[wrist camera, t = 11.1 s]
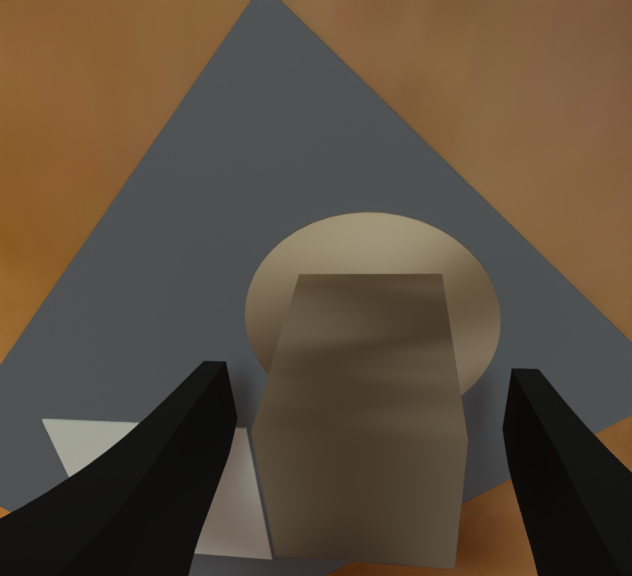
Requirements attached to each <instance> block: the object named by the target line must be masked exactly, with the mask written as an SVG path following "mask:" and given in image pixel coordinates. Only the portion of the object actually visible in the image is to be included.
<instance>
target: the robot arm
mask: <svg viewBox="0 0 632 576" xmlns="http://www.w3.org/2000/svg"><path fill="white" fill-rule="evenodd" d="M237 419H238V417H237V412H236V407H235V402H234V398H233V393H232V388H231V383H230V378H229V373H228V369H227V364H226V361H203V362H202V363H201V364H200V365H199V366H198V367H197V368H196V369H195V370H194V371H193V372H192V373H191V374H190V375H189V376H188V377H187V378H186V379H185V380H184V381H183V382H182V383H181V384H180V385H179V386H178V387H177V388H176V389H175V390H174V391H173V392H172V393H171V394H170V395H169V396H168V397H167V398H166V399H165V400H164V401H163V402H162V403H161V404H160V405H158V406H157V407H156V408H155V409H154V410H153V411H152V412H151V413H150V414H149V415H148V416H147V417H146V418H145V419H144V420H142V421H141V422H140V423H139V424H138V425H137V426H136V427H134V428H133V429H132V430H131V431H130V432H129V433H128V434H126V435H125V436H124V437H123V438H122V439H121V440H119V441H118V442H117V443H116V444H115V445H113V446H112V447H111V448H109V449H108V450H107V451H106V452H104V453H103V454H102V455H100V456H99V457H98V458H96V459H95V460H94V461H92V462H91V463H90V464H88V465H87V466H85V467H84V468H83V469H81V470H80V471H78V472H77V473H75V474H74V475H72V476H70V477H69V478H67V479H66V480H64V481H63V482H61V483H60V484H58V485H57V486H55V487H54V488H52V489H51V490H49V491H48V492H46V493H44V494H43V495H41V496H39V497H38V498H36V499H34V500H32V501H31V502H29V503H27V504H26V505H24V506H22V507H20V508H18V509H17V510H15V511H13V512H11V513H9V514H8V515H6V516H4V517H2V518H0V576H189V572H190V568H191V564H192V561H193V557H194V553H195V549H196V546H197V543H198V540H199V537H200V534H201V531H202V528H203V525H204V522H205V520H206V517H207V514H208V512H209V509H210V506H211V504H212V501H213V498H214V495H215V493H216V490H217V487H218V485H219V482H220V479H221V476H222V474H223V471H224V468H225V465H226V463H227V460H228V457H229V454H230V450H231V446H232V442H233V438H234V433H235V429H236V424H237ZM502 430H503V437H504V444H505V451H506V457H507V463H508V468H509V472H510V476H511V479H512V483H513V486H514V490H515V494H516V497H517V501H518V504H519V508H520V511H521V515H522V518H523V522H524V525H525V529H526V532H527V536H528V539H529V543H530V546H531V550H532V553H533V557H534V561H535V565H536V569H537V574H538V576H632V472H631V471H630V470H629V469H628V468H626V467H625V466H624V465H623V464H622V463H621V462H620V461H619V460H618V459H617V458H616V457H615V456H614V455H613V454H612V453H611V452H610V451H609V450H608V449H607V448H606V446H605V445H604V444H603V443H602V442H601V441H600V440H599V439H598V438H597V437H596V436H595V435H594V434H593V433H592V431H591V430H590V429H589V428H588V427H587V426H586V425H585V424H584V423H583V421H582V420H581V419H580V418H579V417H578V416H577V415H576V414H575V412H574V411H573V410H572V409H571V408H570V407H569V405H568V404H567V403H566V402H565V401H564V399H563V398H562V397H561V396H560V395H559V393H558V392H557V391H556V390H555V388H554V387H553V386H552V385H551V383H550V382H549V381H548V380H547V378H546V377H545V376H544V375H543V373H542V372H541V371H540V370H539V369H524V368H512V369H511V376H510V382H509V389H508V395H507V402H506V408H505V414H504V421H503V427H502Z"/></svg>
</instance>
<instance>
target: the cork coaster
mask: <svg viewBox="0 0 632 576" xmlns="http://www.w3.org/2000/svg"><path fill="white" fill-rule="evenodd" d="M299 274H442V277H443V283H444V290H445V296H446V302H447V309H448V315H449V322H450V328H451V334H452V341H453V347H454V354H455V360H456V366H457V373H458V379H459V386H460V392H461V395H462V394H464V393H465V392H466V391H467V390H469V389H470V388H471V387H472V386H473V385H474V384H475V383H476V382H477V381H478V379H479V378H480V377H481V376H482V374H483V373H484V372H485V370H486V369H487V367H488V365H489V363H490V362H491V360H492V358H493V355H494V353H495V350H496V348H497V344H498V340H499V335H500V324H501V316H500V308H499V302H498V299H497V296H496V292H495V289H494V286H493V284H492V282H491V280H490V278H489V276H488V274H487V272H486V271H485V269H484V268H483V266H482V265H481V263H480V262H479V260H478V259H477V258H476V257H475V256H474V255H473V254H472V253H471V252H470V251H469V250H468V249H467V248H466V247H465V246H464V245H463V244H461V243H460V242H459V241H458V240H456V239H455V238H454V237H453V236H451V235H449V234H448V233H446V232H444V231H443V230H441V229H439V228H437V227H435V226H433V225H430V224H428V223H426V222H424V221H421V220H418V219H415V218H411V217H408V216H404V215H399V214H393V213H387V212H370V211H363V212H351V213H344V214H339V215H334V216H329V217H326V218H323V219H320V220H317V221H314V222H312V223H310V224H308V225H306V226H304V227H302V228H300V229H298V230H296V231H295V232H293V233H292V234H290V235H289V236H287V237H286V238H284V239H283V240H282V241H281V242H280V243H279V244H277V245H276V246H275V247H274V248H273V249H272V250H271V251H270V252H269V254H268V255H267V256H266V257H265V258H264V260H263V261H262V262H261V264H260V266H259V268H258V269H257V271H256V273H255V275H254V277H253V279H252V282H251V284H250V287H249V289H248V294H247V298H246V304H245V323H246V331H247V335H248V339H249V342H250V345H251V347H252V350H253V352H254V354H255V356H256V358H257V359H258V361H259V363H260V365H261V366H262V367H263V369H264V370H265V371H266V373H267V374H269V371H270V368H271V365H272V361H273V358H274V355H275V352H276V348H277V345H278V342H279V338H280V335H281V332H282V329H283V325H284V322H285V319H286V316H287V312H288V309H289V306H290V302H291V299H292V296H293V293H294V289H295V286H296V283H297V280H298V276H299Z"/></svg>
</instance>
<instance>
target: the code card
mask: <svg viewBox="0 0 632 576" xmlns="http://www.w3.org/2000/svg"><path fill="white" fill-rule="evenodd" d="M42 421H43V423H44V426H45V428H46V430H47V432H48V434H49V436H50V438H51V440H52V442H53V444H54V447H55V449H56V451H57V453H58V455H59V457H60V459H61V461H62V463H63V466H64V468H65V470H66V472H67V474H68V476H69V477H70V476H72V475H74V474H75V473H77V472H78V471H80V470H81V469H83V468H84V467H85V466H87V465H88V464H90V463H91V462H92V461H94V460H95V459H96V458H98V457H99V456H100V455H102V454H103V453H104V452H106V451H107V450H108V449H109V448H111V447H112V446H113V445H115V444H116V443H117V442H118V441H119V440H121V439H122V438H123V437H124V436H125V435H126V434H128V433H129V432H130V431H131V430H132V429H133V428H134V427H136V426H137V425H138V424H139V423H132V422H109V421H85V420H62V419H43V420H42ZM195 554H208V555H220V556H233V557H245V558H258V559H270V560H272V555H271V549H270V544H269V539H268V534H267V529H266V524H265V519H264V514H263V509H262V504H261V499H260V494H259V489H258V484H257V479H256V474H255V469H254V464H253V459H252V453H251V448H250V443H249V438H248V433H247V428H246V427H236V429H235V433H234V438H233V442H232V446H231V450H230V454H229V457H228V460H227V463H226V465H225V468H224V471H223V474H222V476H221V479H220V482H219V485H218V487H217V490H216V493H215V495H214V498H213V501H212V504H211V506H210V509H209V512H208V514H207V517H206V520H205V522H204V525H203V528H202V531H201V534H200V537H199V540H198V543H197V546H196V549H195Z"/></svg>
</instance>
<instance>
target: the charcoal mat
mask: <svg viewBox="0 0 632 576" xmlns="http://www.w3.org/2000/svg"><path fill="white" fill-rule="evenodd" d="M363 211H370V212H387V213H393V214H399V215H404V216H408V217H411V218H415V219H418V220H421V221H424V222H426V223H428V224H430V225H433V226H435V227H437V228H439V229H441V230H443V231H444V232H446V233H448V234H449V235H451V236H453V237H454V238H455V239H456V240H458V241H459V242H460V243H461V244H463V245H464V246H465V247H466V248H467V249H468V250H469V251H470V252H471V253H472V254H473V255H474V256H475V257H476V258H477V259H478V260H479V262H480V263H481V265H482V266H483V268H484V269H485V271H486V272H487V274H488V276H489V278H490V280H491V282H492V284H493V286H494V289H495V292H496V296H497V299H498V302H499V308H500V316H501V324H500V335H499V340H498V344H497V348H496V350H495V353H494V355H493V358H492V360H491V362H490V363H489V365H488V367H487V369H486V370H485V372H484V373H483V374H482V376H481V377H480V378H479V379H478V381H477V382H476V383H475V384H474V385H473V386H472V387H471V388H470V389H469V390H467V391H466V392H465V393H464V394H462V395H461V399H462V405H463V411H464V418H465V424H466V431H467V437H468V446H467V456H466V465H465V475H464V485H463V494H462V503H464V502H466V501H468V500H470V499H472V498H474V497H476V496H478V495H480V494H482V493H483V492H485V491H487V490H489V489H491V488H493V487H495V486H497V485H499V484H501V483H502V482H504V481H506V480H508V479H510V478H511V476H510V472H509V468H508V463H507V457H506V451H505V444H504V437H503V430H502V427H503V421H504V414H505V408H506V402H507V395H508V389H509V382H510V376H511V369H512V368H524V369H539V370H540V371H541V372H542V373H543V375H544V376H545V377H546V378H547V380H548V381H549V382H550V383H551V385H552V386H553V387H554V388H555V390H556V391H557V392H558V393H559V395H560V396H561V397H562V398H563V399H564V401H565V402H566V403H567V404H568V405H569V407H570V408H571V409H572V410H573V411H574V412H575V414H576V415H577V416H578V417H579V418H580V419H581V420H582V421H583V423H584V424H585V425H586V426H587V427H588V428H589V429H590V430H591V431H592V433H593V434H596V433H598V432H600V431H602V430H603V429H605V428H607V427H609V426H611V425H613V424H615V423H617V422H619V421H621V420H622V419H624V418H626V417H628V416H630V415H632V343H631V342H630V341H629V340H628V339H627V338H626V337H625V336H624V335H623V334H622V333H621V332H620V331H619V330H618V329H617V328H616V327H615V326H614V325H613V324H612V323H611V322H610V321H609V320H608V319H607V318H606V317H605V316H604V315H603V314H602V313H601V312H600V311H599V310H597V309H596V308H595V307H594V306H593V305H592V304H591V303H590V302H589V301H588V300H587V299H586V298H585V297H584V296H583V295H582V294H581V293H580V292H579V291H578V290H577V289H576V288H575V287H574V286H573V285H572V284H571V283H570V282H569V281H568V280H567V279H566V278H565V277H564V276H563V275H562V274H561V273H560V272H559V271H557V270H556V269H555V268H554V267H553V266H552V265H551V264H550V263H549V262H548V261H547V260H546V259H545V258H544V257H543V256H542V255H541V254H540V253H539V252H538V251H537V250H536V249H535V248H534V247H533V246H532V245H531V244H530V243H529V242H528V241H527V240H526V239H525V238H524V237H523V236H522V235H521V234H520V233H519V232H517V231H516V230H515V229H514V228H513V227H512V226H511V225H510V224H509V223H508V222H507V221H506V220H505V219H504V218H503V217H502V216H501V215H500V214H499V213H498V212H497V211H496V210H495V209H494V208H493V207H492V206H491V205H490V204H489V203H488V202H487V201H486V200H485V199H484V198H483V197H482V196H481V195H480V194H478V193H477V192H476V191H475V190H474V189H473V188H472V187H471V186H470V185H469V184H468V183H467V182H466V181H465V180H464V179H463V178H462V177H461V176H460V175H459V174H458V173H457V172H456V171H455V170H454V169H453V168H452V167H451V166H450V165H449V164H448V163H447V162H446V161H445V160H444V159H443V158H442V157H441V156H440V155H438V154H437V153H436V152H435V151H434V150H433V149H432V148H431V147H430V146H429V145H428V144H427V143H426V142H425V141H424V140H423V139H422V138H421V137H420V136H419V135H418V134H417V133H416V132H415V131H414V130H413V129H412V128H411V127H410V126H409V125H408V124H407V123H406V122H405V121H404V120H403V119H402V118H401V117H399V116H398V115H397V114H396V113H395V112H394V111H393V110H392V109H391V108H390V107H389V106H388V105H387V104H386V103H385V102H384V101H383V100H382V99H381V98H380V97H379V96H378V95H377V94H376V93H375V92H374V91H373V90H372V89H371V88H370V87H369V86H368V85H367V84H366V83H365V82H364V81H363V80H362V79H361V78H359V77H358V76H357V75H356V74H355V73H354V72H353V71H352V70H351V69H350V68H349V67H348V66H347V65H346V64H345V63H344V62H343V61H342V60H341V59H340V58H339V57H338V56H337V55H336V54H335V53H334V52H333V51H332V50H331V49H330V48H329V47H328V46H327V45H326V44H325V43H324V42H323V41H322V40H320V39H319V38H318V37H317V36H316V35H315V34H314V33H313V32H312V31H311V30H310V29H309V28H308V27H307V26H306V25H305V24H304V23H303V22H302V21H301V20H300V19H299V18H298V17H297V16H296V15H295V14H294V13H293V12H292V11H291V10H290V9H289V8H288V7H287V6H286V5H285V4H284V3H283V2H282V1H280V0H251V2H250V3H249V4H248V6H247V7H246V9H245V10H244V12H243V13H242V15H241V16H240V18H239V19H238V20H237V22H236V23H235V25H234V26H233V28H232V29H231V31H230V32H229V34H228V35H227V36H226V38H225V39H224V41H223V42H222V44H221V45H220V47H219V48H218V49H217V51H216V52H215V54H214V55H213V57H212V58H211V60H210V61H209V63H208V64H207V65H206V67H205V68H204V70H203V71H202V73H201V74H200V76H199V77H198V79H197V80H196V81H195V83H194V84H193V86H192V87H191V89H190V90H189V92H188V93H187V95H186V96H185V97H184V99H183V100H182V102H181V103H180V105H179V106H178V108H177V109H176V111H175V112H174V113H173V115H172V116H171V118H170V119H169V121H168V122H167V124H166V125H165V127H164V128H163V129H162V131H161V132H160V134H159V135H158V137H157V138H156V140H155V141H154V143H153V144H152V145H151V147H150V148H149V150H148V151H147V153H146V154H145V156H144V157H143V158H142V160H141V161H140V163H139V164H138V166H137V167H136V169H135V170H134V172H133V173H132V174H131V176H130V177H129V179H128V180H127V182H126V183H125V185H124V186H123V188H122V189H121V190H120V192H119V193H118V195H117V196H116V198H115V199H114V201H113V202H112V204H111V205H110V206H109V208H108V209H107V211H106V212H105V214H104V215H103V217H102V218H101V220H100V221H99V222H98V224H97V225H96V227H95V228H94V230H93V231H92V233H91V234H90V236H89V237H88V238H87V240H86V241H85V243H84V244H83V246H82V247H81V249H80V250H79V252H78V253H77V254H76V256H75V257H74V259H73V260H72V262H71V263H70V265H69V266H68V267H67V269H66V270H65V272H64V273H63V275H62V276H61V278H60V279H59V281H58V282H57V283H56V285H55V286H54V288H53V289H52V291H51V292H50V294H49V295H48V297H47V298H46V299H45V301H44V302H43V304H42V305H41V307H40V308H39V310H38V311H37V313H36V314H35V315H34V317H33V318H32V320H31V321H30V323H29V324H28V326H27V327H26V329H25V330H24V331H23V333H22V334H21V336H20V337H19V339H18V340H17V342H16V343H15V345H14V346H13V347H12V349H11V350H10V352H9V353H8V355H7V356H6V358H5V359H4V361H3V362H2V363H1V365H0V506H1V507H2V508H4V509H6V510H8V511H10V512H13V511H15V510H17V509H18V508H20V507H22V506H24V505H26V504H27V503H29V502H31V501H32V500H34V499H36V498H38V497H39V496H41V495H43V494H44V493H46V492H48V491H49V490H51V489H52V488H54V487H55V486H57V485H58V484H60V483H61V482H63V481H64V480H66V479H67V478H69V476H68V474H67V472H66V470H65V468H64V466H63V463H62V461H61V459H60V457H59V455H58V453H57V451H56V449H55V447H54V444H53V442H52V440H51V438H50V436H49V434H48V432H47V430H46V428H45V426H44V423H43V421H42V420H43V419H62V420H85V421H109V422H132V423H140V422H141V421H142V420H144V419H145V418H146V417H147V416H148V415H149V414H150V413H151V412H152V411H153V410H154V409H155V408H156V407H157V406H158V405H160V404H161V403H162V402H163V401H164V400H165V399H166V398H167V397H168V396H169V395H170V394H171V393H172V392H173V391H174V390H175V389H176V388H177V387H178V386H179V385H180V384H181V383H182V382H183V381H184V380H185V379H186V378H187V377H188V376H189V375H190V374H191V373H192V372H193V371H194V370H195V369H196V368H197V367H198V366H199V365H200V364H201V363H202V362H203V361H226V364H227V369H228V373H229V378H230V383H231V388H232V393H233V398H234V402H235V407H236V412H237V417H238V419H237V424H236V427H246V428H247V433H248V438H249V443H250V448H251V453H252V459H253V464H254V469H255V474H256V479H257V484H258V489H259V494H260V499H261V504H262V509H263V514H264V519H265V524H266V529H267V534H268V539H269V544H270V549H271V555H272V560H270V559H258V558H245V557H233V556H220V555H208V554H195V553H194V557H193V561H192V564H191V568H190V572H189V576H325V575H327V574H329V573H331V572H333V571H335V570H337V569H339V568H341V567H342V566H344V565H346V564H348V563H350V562H352V561H339V560H326V559H313V558H300V557H287V556H276V555H275V550H274V545H273V540H272V535H271V530H270V525H269V520H268V515H267V510H266V505H265V500H264V495H263V490H262V484H261V479H260V474H259V469H258V464H257V459H256V454H255V449H254V444H253V439H252V434H251V430H252V427H253V424H254V420H255V417H256V414H257V410H258V407H259V404H260V401H261V397H262V394H263V391H264V388H265V384H266V381H267V378H268V374H267V373H266V371H265V370H264V369H263V367H262V366H261V365H260V363H259V361H258V359H257V358H256V356H255V354H254V352H253V350H252V347H251V345H250V342H249V339H248V335H247V331H246V323H245V304H246V298H247V294H248V289H249V287H250V284H251V282H252V279H253V277H254V275H255V273H256V271H257V269H258V268H259V266H260V264H261V262H262V261H263V260H264V258H265V257H266V256H267V255H268V254H269V252H270V251H271V250H272V249H273V248H274V247H275V246H276V245H277V244H279V243H280V242H281V241H282V240H283V239H284V238H286V237H287V236H289V235H290V234H292V233H293V232H295V231H296V230H298V229H300V228H302V227H304V226H306V225H308V224H310V223H312V222H314V221H317V220H320V219H323V218H326V217H329V216H334V215H339V214H344V213H351V212H363Z"/></svg>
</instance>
